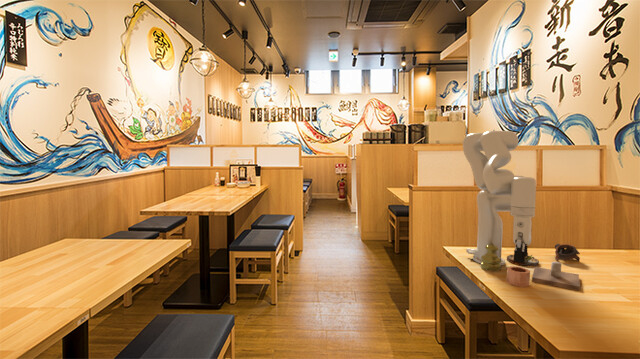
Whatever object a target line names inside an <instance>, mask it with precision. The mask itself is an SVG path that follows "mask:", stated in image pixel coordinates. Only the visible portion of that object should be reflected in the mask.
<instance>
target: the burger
mask: <svg viewBox="0 0 640 359" xmlns="http://www.w3.org/2000/svg"><path fill="white" fill-rule="evenodd" d="M506 261H507V262H510V263H511V264H513V265H516V266H520V265H522V266H521V267H528V266H529V267H530V266H535V267H537V266H539V265H540V263H539V262H540V261H539V259H537V258H535V256H533V255H529V252H528V251H527V257H525V262H524V263H520V262H514V254H509V255H507V256H506ZM536 265H537V266H536Z"/></svg>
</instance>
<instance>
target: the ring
mask: <svg viewBox="0 0 640 359" xmlns="http://www.w3.org/2000/svg"><path fill="white" fill-rule="evenodd" d="M530 280H531V270H529V269H528V268H525V267H523V266H521V267H520V266H518V265H516V266H514V265H511V266H508V267H507V269H506V283H507V284H508V285H511V286H515V287H520V288H527V287H530Z"/></svg>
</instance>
